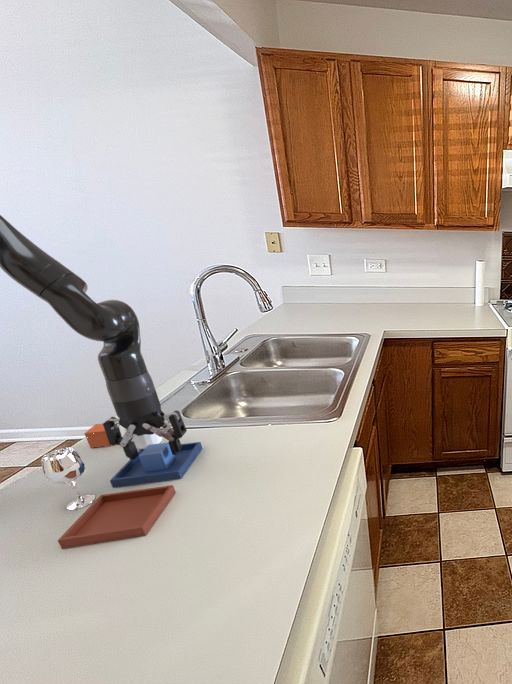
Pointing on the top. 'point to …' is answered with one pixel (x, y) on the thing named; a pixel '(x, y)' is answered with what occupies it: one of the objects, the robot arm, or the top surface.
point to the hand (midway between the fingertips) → (155, 455)
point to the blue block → (156, 457)
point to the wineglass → (66, 473)
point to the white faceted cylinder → (146, 440)
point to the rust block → (97, 436)
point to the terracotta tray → (118, 516)
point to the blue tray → (136, 475)
